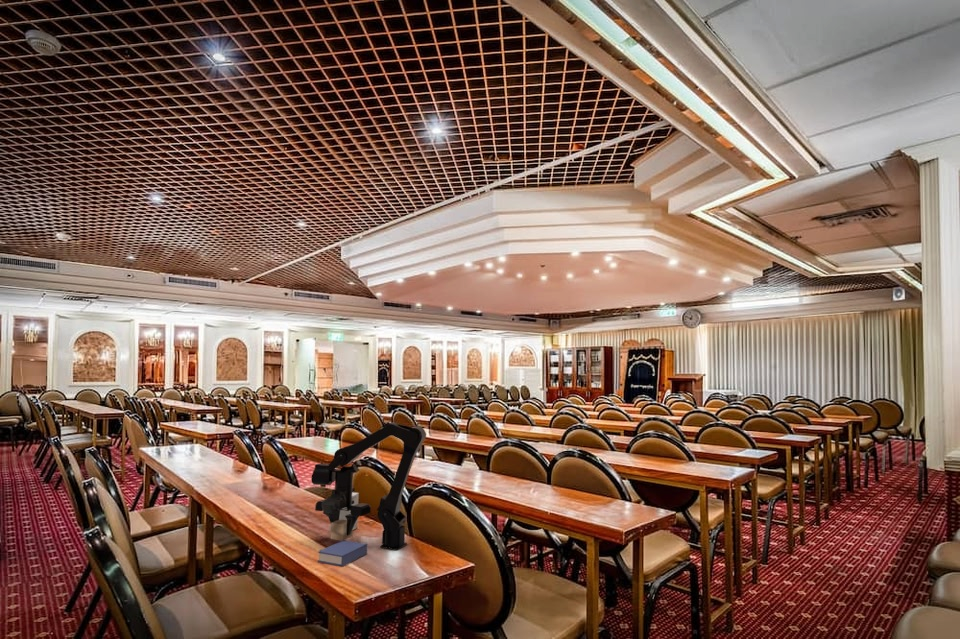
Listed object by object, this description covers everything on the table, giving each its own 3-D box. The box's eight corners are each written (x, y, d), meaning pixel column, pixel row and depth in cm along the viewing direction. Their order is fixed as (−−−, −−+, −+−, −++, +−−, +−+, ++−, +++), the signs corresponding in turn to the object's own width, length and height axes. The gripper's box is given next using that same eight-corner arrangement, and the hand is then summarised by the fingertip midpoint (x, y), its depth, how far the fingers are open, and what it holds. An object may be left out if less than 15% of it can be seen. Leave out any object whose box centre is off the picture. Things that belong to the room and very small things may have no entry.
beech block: (352, 536, 171) (353, 520, 172) (342, 540, 167) (343, 524, 167) (340, 534, 173) (340, 519, 174) (330, 538, 169) (331, 522, 169)
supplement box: (348, 533, 181) (350, 496, 182) (329, 532, 182) (331, 495, 184) (357, 528, 188) (359, 492, 189) (339, 526, 189) (340, 491, 191)
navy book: (366, 554, 160) (367, 544, 160) (342, 566, 149) (342, 555, 149) (343, 550, 163) (343, 540, 164) (317, 562, 152) (318, 551, 153)
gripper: (304, 487, 168) (302, 537, 166) (351, 493, 161) (349, 545, 159) (327, 481, 178) (325, 528, 177) (372, 486, 171) (370, 535, 169)
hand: (341, 534), depth 170 cm, fingers closed on beech block, 5 cm apart
